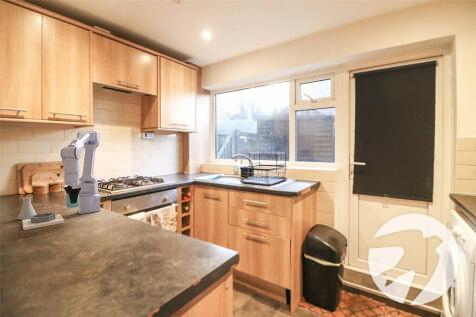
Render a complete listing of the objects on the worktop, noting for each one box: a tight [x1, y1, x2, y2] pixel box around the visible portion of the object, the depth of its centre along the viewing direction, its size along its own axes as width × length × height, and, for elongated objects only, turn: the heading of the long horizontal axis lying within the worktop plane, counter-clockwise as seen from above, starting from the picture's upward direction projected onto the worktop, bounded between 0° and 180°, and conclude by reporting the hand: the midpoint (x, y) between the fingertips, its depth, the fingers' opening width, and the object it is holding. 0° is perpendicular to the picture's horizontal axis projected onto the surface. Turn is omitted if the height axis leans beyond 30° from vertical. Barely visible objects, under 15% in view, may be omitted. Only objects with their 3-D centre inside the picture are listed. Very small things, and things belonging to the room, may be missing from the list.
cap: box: [65, 193, 79, 209], centre depth 112 cm, size 5×5×6 cm
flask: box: [16, 196, 37, 221], centre depth 118 cm, size 7×7×10 cm
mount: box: [22, 212, 65, 231], centre depth 111 cm, size 14×14×3 cm
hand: (72, 202), depth 112 cm, fingers closed on cap, 5 cm apart
